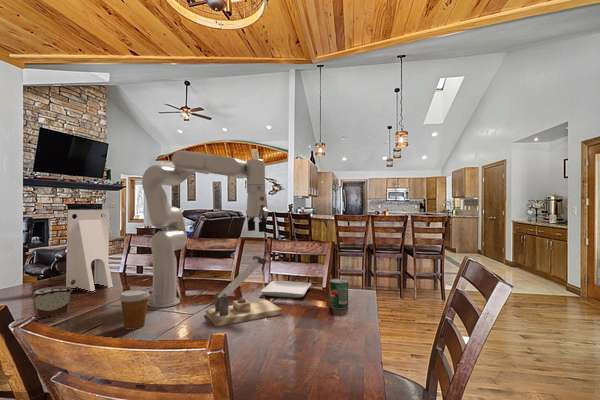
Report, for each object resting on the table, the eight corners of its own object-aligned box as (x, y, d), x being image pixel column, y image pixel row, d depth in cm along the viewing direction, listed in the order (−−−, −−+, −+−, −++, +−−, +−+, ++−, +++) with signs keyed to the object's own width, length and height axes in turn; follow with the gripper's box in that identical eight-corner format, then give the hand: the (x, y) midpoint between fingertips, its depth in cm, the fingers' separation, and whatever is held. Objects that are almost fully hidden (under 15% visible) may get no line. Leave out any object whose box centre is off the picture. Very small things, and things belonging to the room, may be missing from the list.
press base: (216, 326, 115) (216, 300, 115) (206, 314, 127) (206, 291, 127) (281, 314, 128) (281, 291, 128) (266, 304, 140) (266, 283, 140)
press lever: (224, 304, 119) (220, 299, 119) (218, 298, 126) (214, 294, 126) (268, 260, 129) (265, 255, 128) (260, 257, 136) (257, 253, 135)
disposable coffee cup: (128, 321, 119) (129, 288, 119) (154, 321, 119) (154, 288, 119) (113, 331, 110) (113, 295, 110) (140, 332, 109) (141, 296, 109)
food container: (69, 308, 133) (69, 284, 133) (72, 312, 128) (72, 287, 129) (30, 315, 124) (30, 289, 124) (32, 320, 120) (32, 292, 120)
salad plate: (304, 300, 147) (304, 293, 147) (259, 297, 152) (259, 290, 152) (311, 289, 168) (312, 282, 168) (272, 286, 172) (272, 280, 172)
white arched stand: (80, 294, 154) (81, 210, 155) (65, 290, 162) (67, 209, 162) (121, 285, 171) (123, 209, 172) (107, 282, 179) (108, 209, 179)
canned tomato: (325, 306, 138) (326, 280, 139) (336, 302, 144) (337, 277, 144) (341, 310, 133) (341, 283, 133) (351, 306, 139) (352, 280, 139)
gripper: (274, 188, 128) (275, 231, 128) (254, 190, 142) (255, 229, 142) (257, 188, 124) (258, 233, 123) (238, 190, 138) (239, 230, 137)
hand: (256, 231), depth 133 cm, fingers open, 9 cm apart
